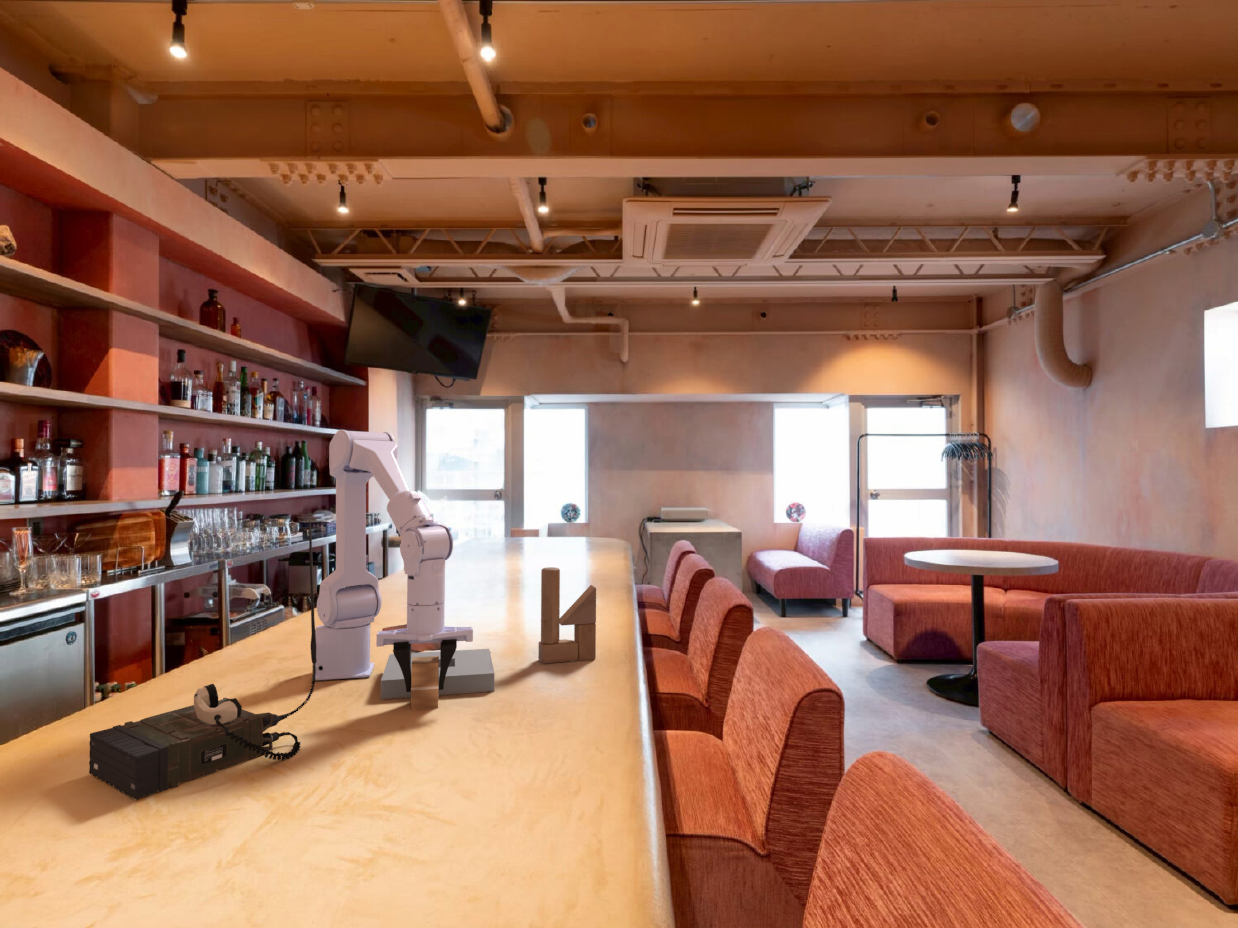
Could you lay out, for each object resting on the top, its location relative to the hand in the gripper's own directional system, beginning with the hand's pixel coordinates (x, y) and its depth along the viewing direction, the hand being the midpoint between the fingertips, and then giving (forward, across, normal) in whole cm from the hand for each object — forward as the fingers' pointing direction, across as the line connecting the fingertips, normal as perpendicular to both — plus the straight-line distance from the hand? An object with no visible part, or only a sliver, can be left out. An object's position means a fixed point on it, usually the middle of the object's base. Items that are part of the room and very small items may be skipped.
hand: (425, 688), depth 106 cm
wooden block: (+3, +26, +20) cm, 33 cm away
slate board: (+2, +2, +12) cm, 12 cm away
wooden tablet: (+3, -4, +45) cm, 45 cm away
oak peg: (+2, 0, 0) cm, 2 cm away
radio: (+3, -24, -14) cm, 29 cm away
